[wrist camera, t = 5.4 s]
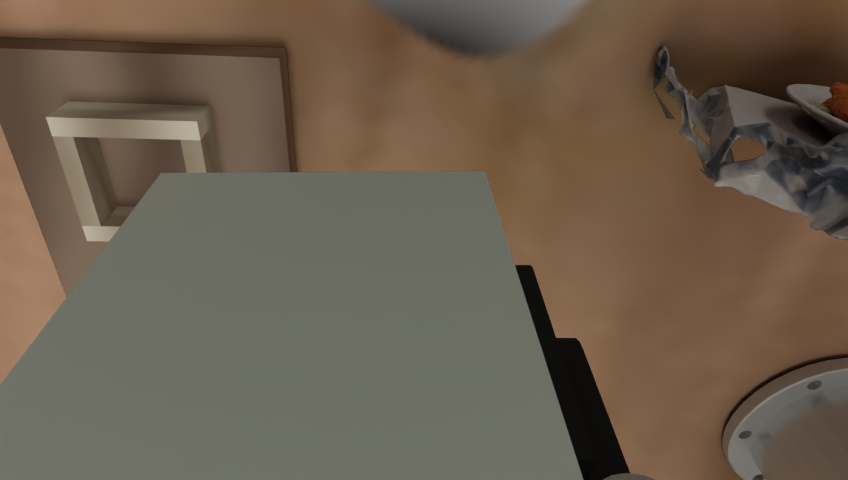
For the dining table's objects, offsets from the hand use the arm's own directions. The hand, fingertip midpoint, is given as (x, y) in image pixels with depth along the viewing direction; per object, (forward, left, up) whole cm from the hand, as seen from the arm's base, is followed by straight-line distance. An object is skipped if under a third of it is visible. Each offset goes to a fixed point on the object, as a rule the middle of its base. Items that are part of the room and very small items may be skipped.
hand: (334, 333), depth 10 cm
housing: (0, 0, -1) cm, 1 cm away
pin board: (+10, +9, -17) cm, 22 cm away
